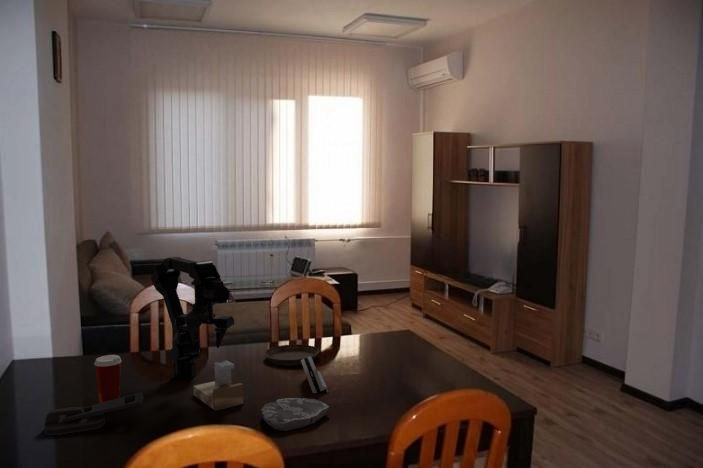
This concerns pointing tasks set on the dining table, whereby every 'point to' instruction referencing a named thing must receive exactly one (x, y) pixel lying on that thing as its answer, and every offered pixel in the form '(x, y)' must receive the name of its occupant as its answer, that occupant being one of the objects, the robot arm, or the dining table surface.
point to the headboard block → (219, 395)
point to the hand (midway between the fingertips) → (205, 346)
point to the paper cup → (108, 377)
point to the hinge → (316, 376)
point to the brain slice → (293, 413)
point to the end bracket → (223, 374)
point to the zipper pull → (85, 415)
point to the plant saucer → (291, 354)
